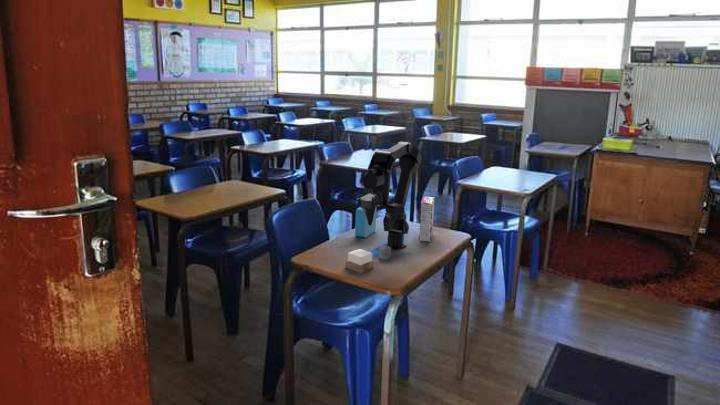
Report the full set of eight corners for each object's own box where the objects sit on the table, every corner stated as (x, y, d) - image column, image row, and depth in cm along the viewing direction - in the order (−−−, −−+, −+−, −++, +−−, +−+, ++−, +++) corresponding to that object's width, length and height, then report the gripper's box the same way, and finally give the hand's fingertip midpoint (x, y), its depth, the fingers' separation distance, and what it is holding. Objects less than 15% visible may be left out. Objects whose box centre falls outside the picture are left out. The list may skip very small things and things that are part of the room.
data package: (366, 229, 232) (367, 202, 229) (375, 230, 230) (376, 204, 227) (354, 237, 221) (355, 209, 218) (364, 238, 219) (365, 210, 216)
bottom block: (358, 263, 193) (358, 255, 193) (373, 268, 189) (373, 260, 188) (345, 268, 188) (345, 260, 188) (360, 274, 184) (360, 266, 183)
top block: (359, 256, 192) (359, 248, 191) (371, 260, 188) (372, 252, 187) (347, 260, 188) (348, 252, 187) (360, 265, 184) (360, 257, 183)
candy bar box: (420, 233, 229) (423, 196, 225) (432, 234, 228) (435, 197, 224) (418, 241, 218) (420, 202, 214) (430, 242, 217) (433, 203, 213)
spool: (383, 254, 202) (384, 245, 201) (392, 258, 199) (393, 247, 198) (376, 257, 198) (376, 247, 197) (385, 260, 196) (386, 250, 195)
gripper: (347, 183, 192) (345, 225, 195) (385, 192, 179) (381, 237, 182) (369, 181, 200) (367, 221, 203) (407, 189, 187) (403, 232, 190)
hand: (378, 228), depth 194 cm, fingers open, 9 cm apart
